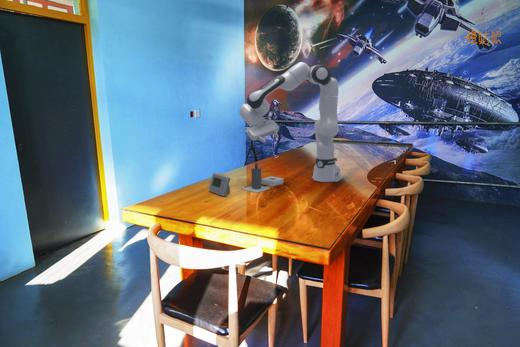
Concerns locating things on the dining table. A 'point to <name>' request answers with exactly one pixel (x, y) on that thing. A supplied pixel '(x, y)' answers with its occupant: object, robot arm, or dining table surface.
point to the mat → (257, 189)
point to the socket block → (272, 181)
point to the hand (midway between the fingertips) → (271, 139)
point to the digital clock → (220, 184)
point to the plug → (256, 177)
